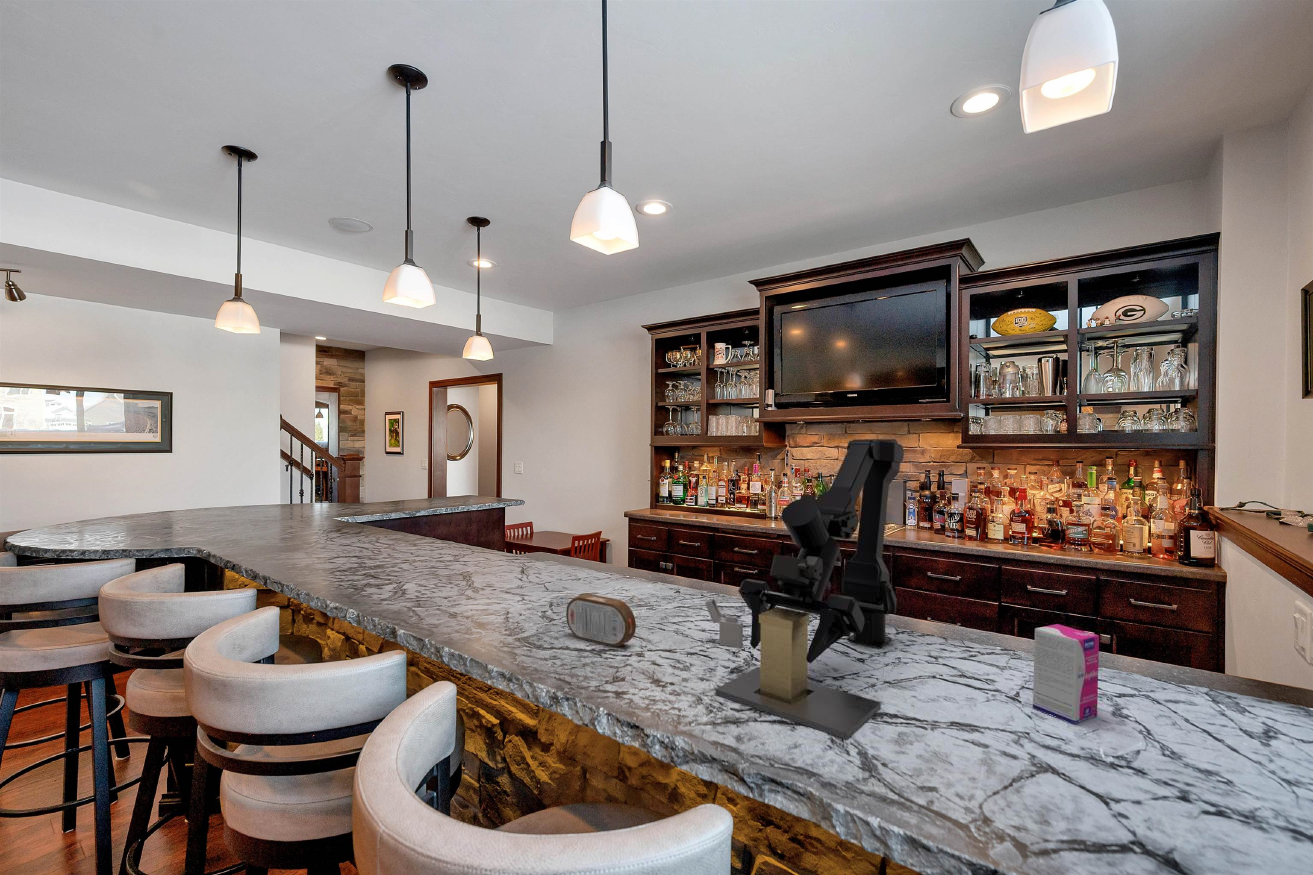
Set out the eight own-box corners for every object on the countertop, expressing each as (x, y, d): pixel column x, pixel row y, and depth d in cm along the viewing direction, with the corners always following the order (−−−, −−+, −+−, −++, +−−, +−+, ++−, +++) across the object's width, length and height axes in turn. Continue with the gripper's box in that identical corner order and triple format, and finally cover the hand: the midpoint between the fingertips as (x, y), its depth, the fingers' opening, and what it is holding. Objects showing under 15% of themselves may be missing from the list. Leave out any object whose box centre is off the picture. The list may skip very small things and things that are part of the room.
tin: (636, 647, 107) (637, 601, 107) (626, 652, 104) (627, 604, 104) (573, 632, 115) (574, 589, 115) (563, 636, 112) (563, 592, 112)
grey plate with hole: (757, 671, 95) (757, 666, 96) (880, 707, 83) (880, 702, 83) (715, 694, 86) (715, 689, 86) (846, 739, 73) (846, 732, 73)
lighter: (743, 645, 108) (743, 602, 109) (739, 648, 107) (740, 604, 107) (708, 638, 112) (708, 597, 112) (704, 641, 110) (704, 599, 110)
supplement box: (1077, 726, 78) (1076, 639, 78) (1031, 708, 83) (1031, 627, 83) (1100, 717, 80) (1100, 633, 81) (1054, 700, 86) (1054, 622, 86)
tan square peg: (776, 686, 90) (777, 606, 90) (809, 696, 86) (809, 613, 86) (758, 697, 85) (758, 614, 86) (791, 708, 82) (792, 621, 82)
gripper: (745, 529, 95) (704, 610, 87) (857, 541, 83) (823, 637, 75) (768, 570, 101) (733, 650, 92) (877, 587, 89) (847, 681, 80)
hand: (779, 653), depth 85 cm, fingers open, 9 cm apart
